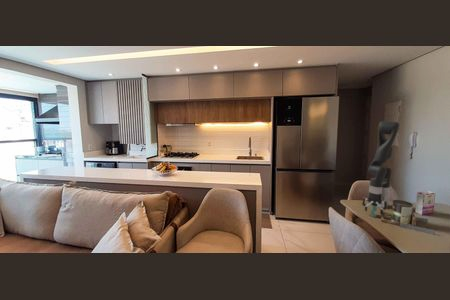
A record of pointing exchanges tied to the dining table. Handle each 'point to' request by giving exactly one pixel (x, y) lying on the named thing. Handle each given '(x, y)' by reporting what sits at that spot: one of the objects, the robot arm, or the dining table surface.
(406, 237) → the dining table surface
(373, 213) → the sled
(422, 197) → the candy bar box
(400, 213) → the coffee can
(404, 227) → the track
